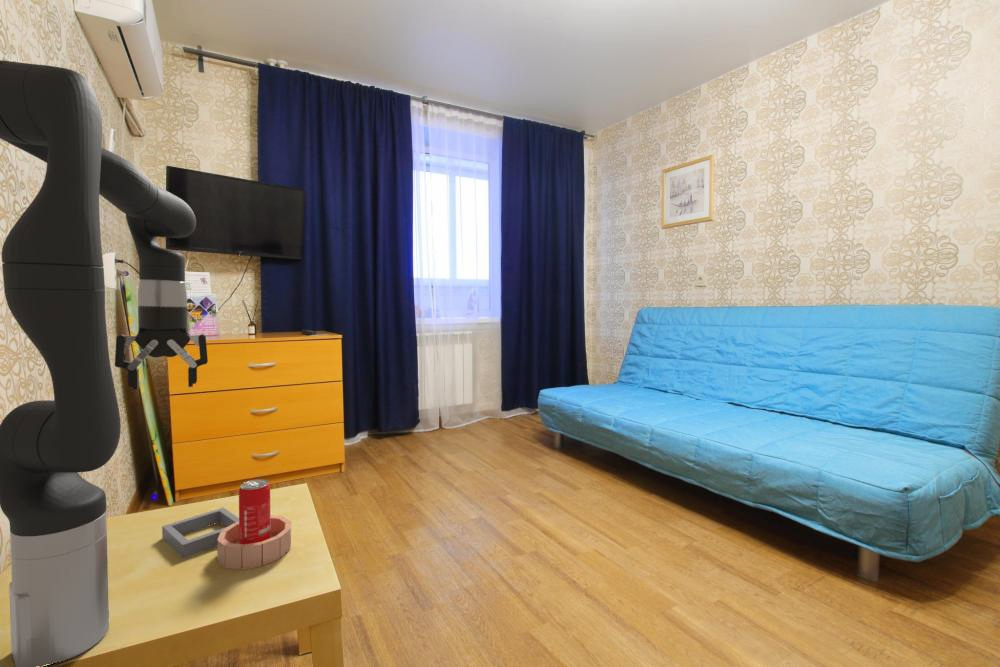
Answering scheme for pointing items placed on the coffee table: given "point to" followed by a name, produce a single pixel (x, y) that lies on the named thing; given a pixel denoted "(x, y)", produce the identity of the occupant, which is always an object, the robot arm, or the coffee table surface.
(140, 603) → the coffee table surface
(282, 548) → the bowl
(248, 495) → the beverage can
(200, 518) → the rectangular frame
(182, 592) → the coffee table surface
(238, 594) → the coffee table surface
